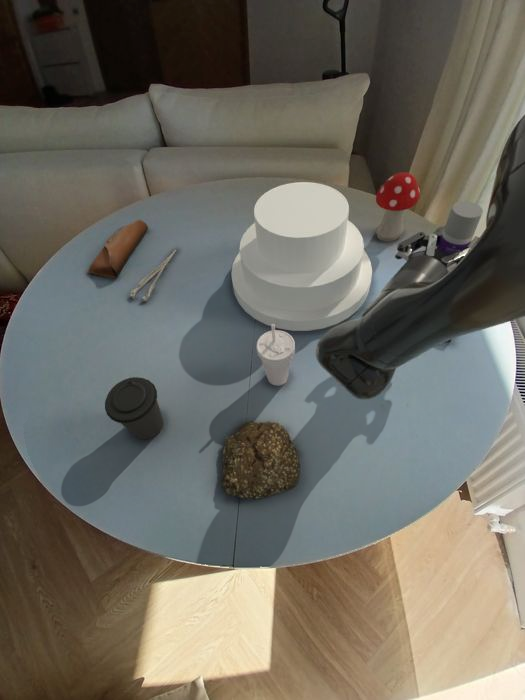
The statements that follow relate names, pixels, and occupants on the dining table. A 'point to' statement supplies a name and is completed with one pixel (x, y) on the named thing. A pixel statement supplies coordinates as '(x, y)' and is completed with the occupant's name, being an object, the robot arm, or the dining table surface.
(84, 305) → the dining table surface
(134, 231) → the sunglasses case
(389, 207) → the decorative mushroom
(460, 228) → the container
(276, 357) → the smoothie
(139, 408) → the coffee cup
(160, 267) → the jawbone
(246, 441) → the bread roll
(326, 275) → the cake
